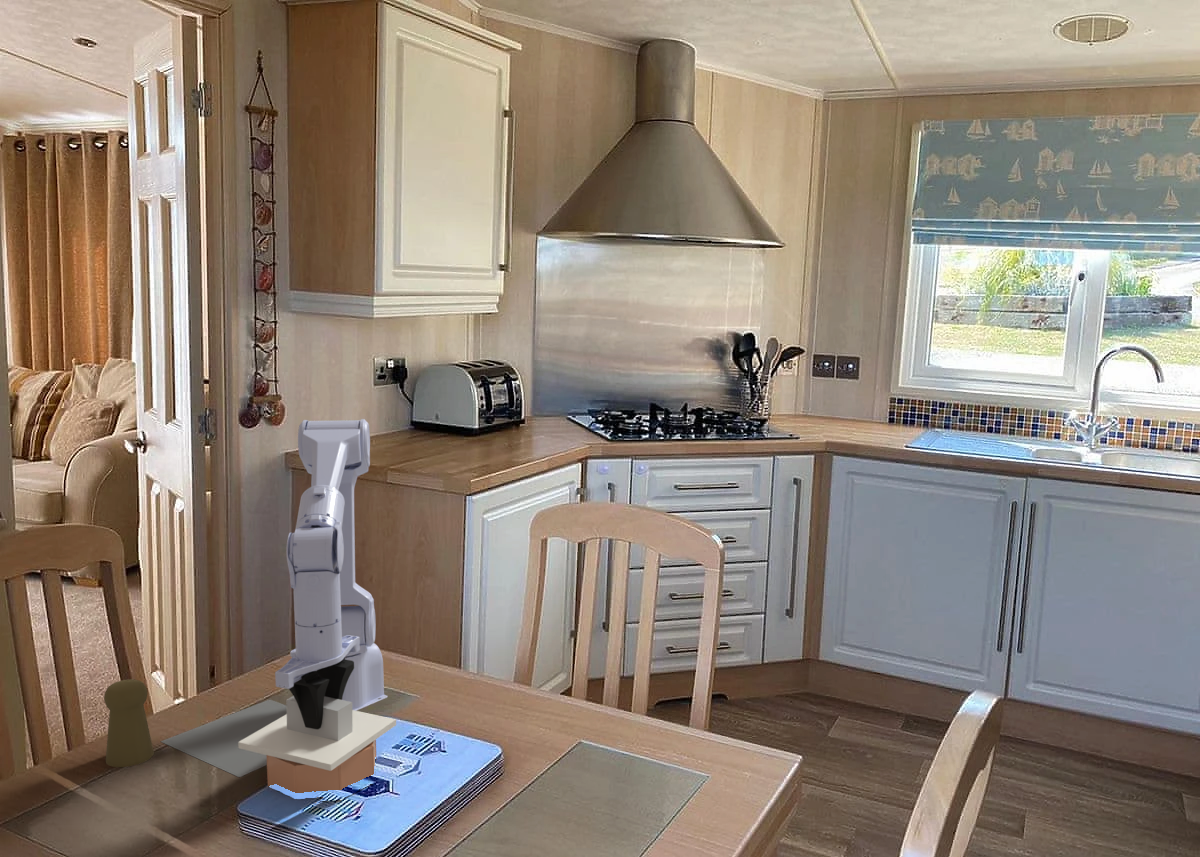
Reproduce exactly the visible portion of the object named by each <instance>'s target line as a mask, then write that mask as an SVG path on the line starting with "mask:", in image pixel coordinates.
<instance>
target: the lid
mask: <svg viewBox="0 0 1200 857" xmlns="http://www.w3.org/2000/svg"><path fill="white" fill-rule="evenodd" d="M285 705H286V706H287V714H286V715H284V716H283V717H281V718H279V719H277V720H276V721H274V722H272V723H270V724H269V725H267V726H265V727H264V728H262V729H260V730H258V731H257V732H255V733H253V734H251V735H250V736H248V737H246V738H245V739H243V740H241V741H239V742H238V746H239V748H240V749H244V750H248V751H252V752H256V753H260V754H264V755H268V756H273V757H277V758H281V759H285V760H289V761H293V762H297V763H301V764H305V765H309V766H313V767H317V768H321V769H325V770H329V771H331V770H333V769H334V768H336V767H337V766H339V765H340V764H341V763H343V762H344V761H346V760H347V759H349V758H350V757H351V756H353V755H354V754H356V753H357V752H359V751H360V750H361V749H363V748H364V747H366V746H367V745H369V744H370V743H371V742H373V741H374V740H376V741H377V739H379V738H380V737H381V736H383V735H384V734H386V733H387V732H388V731H390V730H392V728H395V727H396V726H397V719H395V718H391V717H386V716H381V715H377V714H374V713H367V712H363V711H359V710H356V711H355V710H352V702H349V701H344V700H340V699H335V698H330V697H326V696H324V702H323V719H322V725H321V728H320V729H312V728H306V727H305V724H304V721H303V718H302V715H301V712H300V709H299V707H298V704H297V702H296V700H295V698H294V696H293V695H292V696H290V697H289V698H286V703H285Z"/></svg>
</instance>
